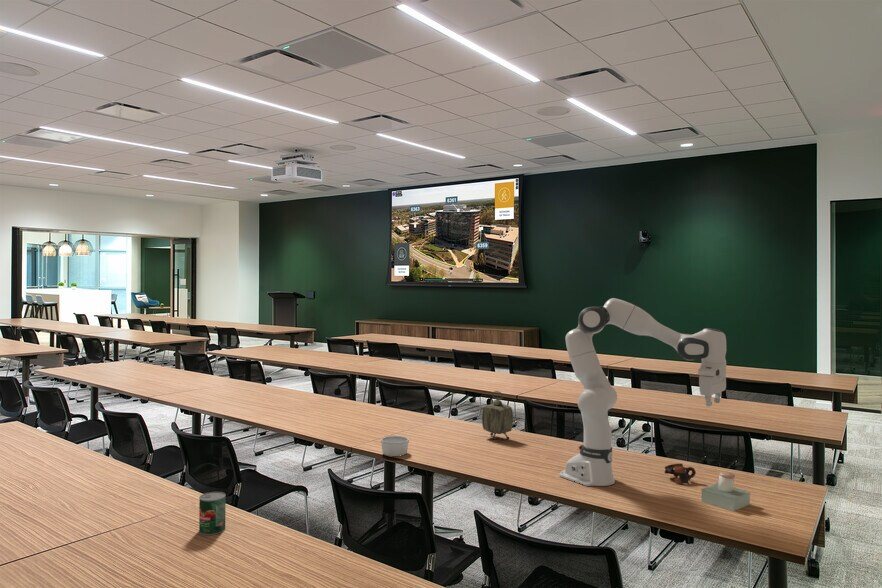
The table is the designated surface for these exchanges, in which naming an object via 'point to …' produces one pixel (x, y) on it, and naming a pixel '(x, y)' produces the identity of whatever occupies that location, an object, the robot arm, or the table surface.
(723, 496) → the sage box
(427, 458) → the table surface
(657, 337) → the robot arm
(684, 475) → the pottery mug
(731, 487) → the pink capped tube
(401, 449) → the ramekin
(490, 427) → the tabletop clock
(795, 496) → the table surface
